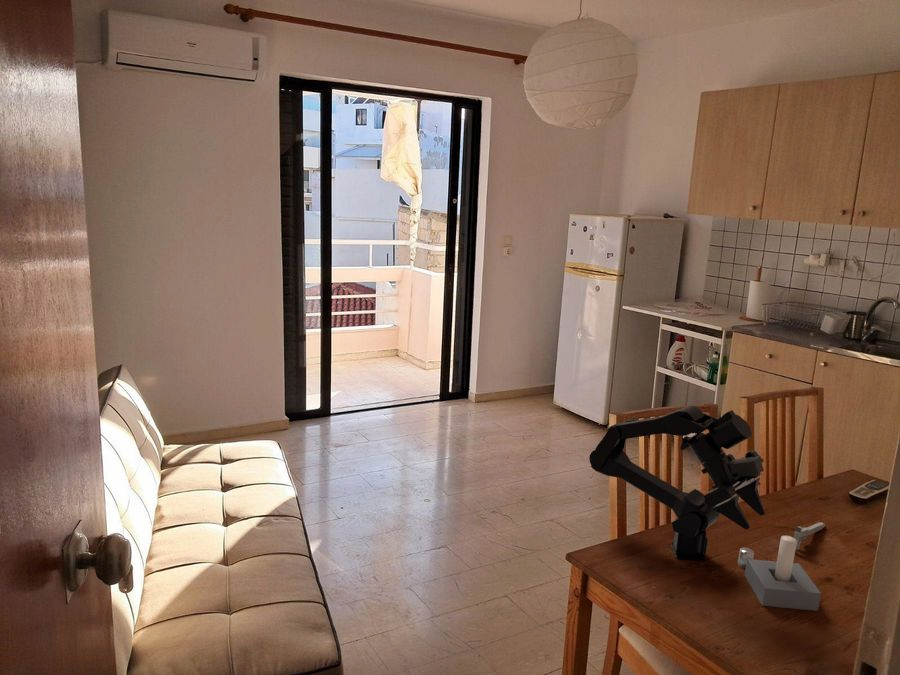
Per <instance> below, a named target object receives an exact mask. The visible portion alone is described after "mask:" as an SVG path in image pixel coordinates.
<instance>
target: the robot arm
mask: <svg viewBox="0 0 900 675" xmlns="http://www.w3.org/2000/svg"><path fill="white" fill-rule="evenodd" d="M706 430H708V432H707V433H704V432H705V431H706ZM660 434H661V435H663V434H664V435H669V436H676V437H677V436H680V437H682V438H681V444H680V450H681V451H684V450H687V448H690V450H691V451H692V452H693V454H694V456H695V457H696V459H697V460H698V462H699V463H700V464H701V466H702V469H700V471H701V473H702V474H703V475H705V474H707V475H708V477H709V478H710V480H711V481H712V483H713V485H712V486H711V488H712V489H711V490H710V491H708V492H707V493H705V494H704V493H703V492H701V491H700V490H698V489H697V488H694V489H692V490H691V491H690V492H684V491H682V490H680V489H678V488H677V487H675V486H673V485H672V484H670V483H668V482H666V481H665V480H663V479H661V478H659V477H658V476H656V475H654V474H653V473H651V472H649V471H647V470H645V469H644V468H643V467H641V466H639V465H637V464H635V463H634V462H632V461H631V459H630V458H629V456H628V454H627V453H626V452H625V451H624V450H625V448H626V444H627V440H628V439H633V438H639V437H640V438H642V437H647V436H653V435H654V436H655V435H660ZM691 434H694V435H691ZM690 435H691V436H690ZM683 436H684V437H683ZM751 437H752V429H751V427H750V425H749V423H748V422H747V420H746V419H743V418H742V417H741V416H740V415H738V414H736V413H735V411H734V410H733V409H731V410H729V411H727V412H725V413H724V414H723V415H722V416H720V417H719V418H716V417H715V416H711V415H709V414H707V413H705V412H703V411H702V410H701V409H700V408H698V407H697V406H695V405H688V406H685V407H683V408H680V409H677V410H675V411H672V412H669V413H666V414H665V415H660V416H655V417H654V416H653V417H648V418H642V419H636V420H632V421H626V422H622V421H620V422H616V423H615V424H613V425H611V426H609V427H608V429H607V431H606V432H605V435H604V436H603V437H602V439H601V440H600V441H599V443H598V444H597V445H596V447H595V449H594V450H592V451H591V452H590V454H589V457H588V458H589V464H590V468H591V469H592V470H594V471H595V472H597V473H599V474H602V475H605V476H607V477H613V478H618V479H620V480H621V479H622V480H623V481H624V482H626V483H628V484H629V485H631V486H633V487H635V488H636V489H638V490H640V491H641V492H643V493H644V494H646V495H648V496H650V497H651V498H653V499H655V500H656V501H658V502H660V504H662V505H664V506H666V507H668V508H669V509H671V510H672V511H673V513H674V514H675V516H676V518H675V520H673V521H672V522H671V525H672V529H673V532H674V537H673V542H670V545H671V548H672V550H673V552H674V555H675V557H676V559H680V560H689V561H691V560H693V561H703V562H705V561H706V556H705V555H706V554H707V549H708V544H709V543H708V541H709V538H708V537H707V531H706V530H707V529H708V528H710V526H712V525H713V524H714V523H716V522H717V521H718V519H719V518H720V515H722V516H724V517H726V518H728V519H729V520H731V521H732V522H733V523H735V524H736V525H738V526H740V527H741V528H742V529H744V530H746V531H747V530H748V529H750V528H751V526H750V523H749V521H748V520H747V517H746V516H745V514H744V512H743V510H742V508H741V507H740V504H739V498H740V499H741V500H742V501H743V502H745V504H747V505H748V507H750V508H751V509H752V510H754V512H756V514H757V515H759V516H761V517H763V516H764V515H765V514H766V512H765V509H764V505H763V503H762V500H761V496H760V493H759V489H758V486H759V482H760V481H761V477H760V476H761V474H762V472H764V471H765V470H764V466H763V464H762V463H764V462H765V459H764V458H762V457H761V456H762V455H760V454H758V452H757V451H756V450H749V451H747V452H746V453H745V455H744V456H743V457H741V458H736V457H734V455H733V454H732V453H728V454H727V453H726V452H725V451H724V449H726V450H729V449H732V448H733V447H735V446H737V445H739V444H741V443H742V442H745V441H746V440H748V439H750V438H751Z"/></svg>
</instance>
